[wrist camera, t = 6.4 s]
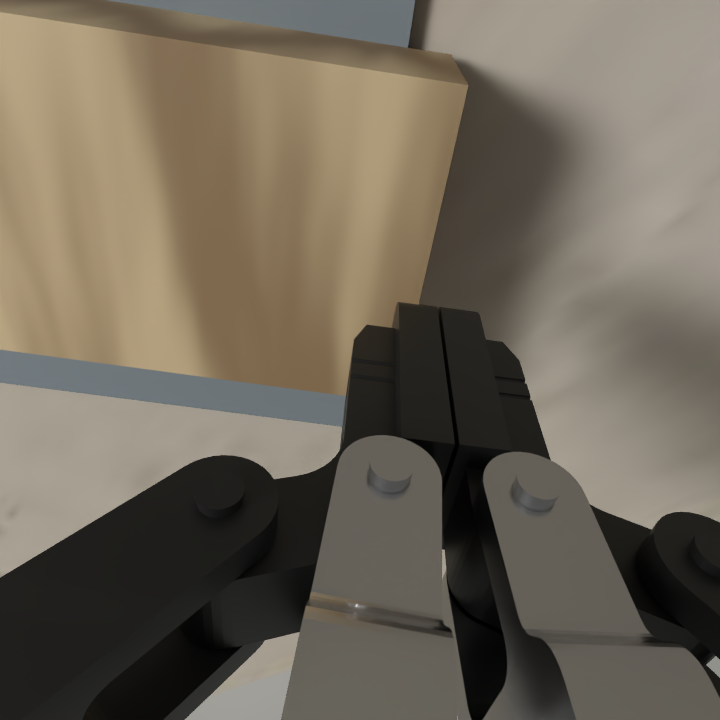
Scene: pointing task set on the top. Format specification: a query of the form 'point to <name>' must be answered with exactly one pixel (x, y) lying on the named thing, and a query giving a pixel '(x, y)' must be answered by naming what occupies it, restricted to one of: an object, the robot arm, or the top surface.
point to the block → (212, 189)
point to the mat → (259, 6)
